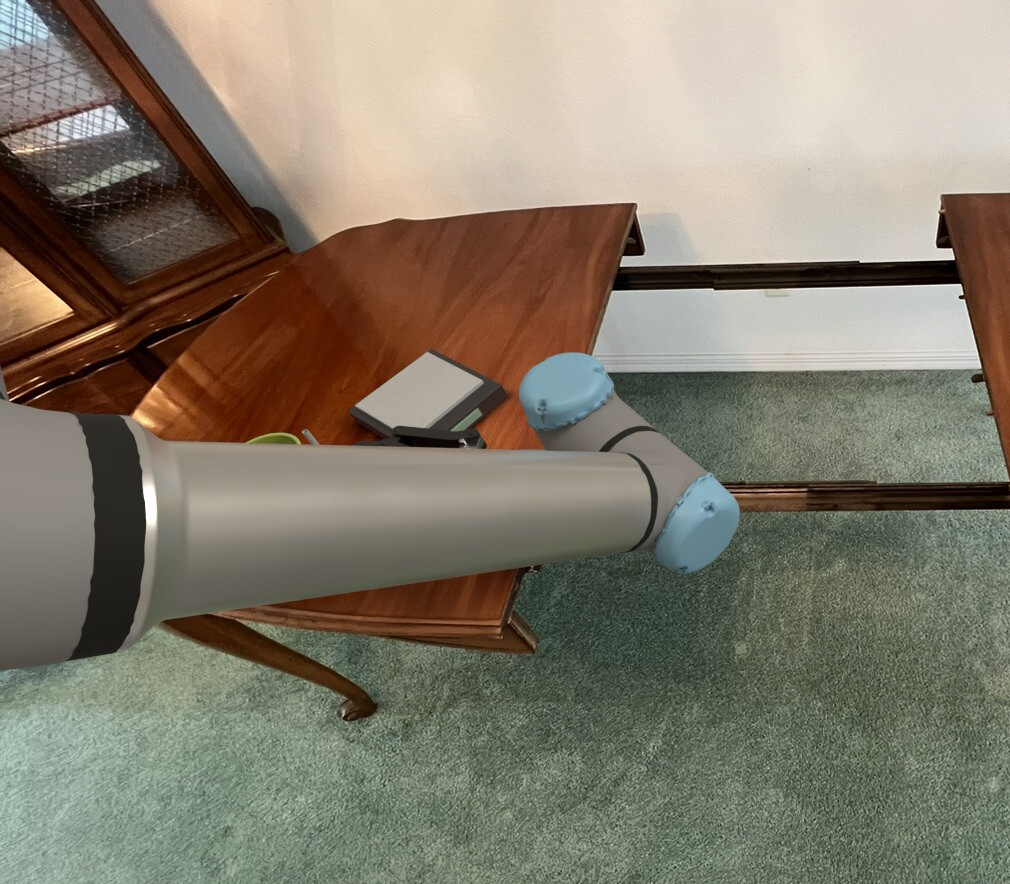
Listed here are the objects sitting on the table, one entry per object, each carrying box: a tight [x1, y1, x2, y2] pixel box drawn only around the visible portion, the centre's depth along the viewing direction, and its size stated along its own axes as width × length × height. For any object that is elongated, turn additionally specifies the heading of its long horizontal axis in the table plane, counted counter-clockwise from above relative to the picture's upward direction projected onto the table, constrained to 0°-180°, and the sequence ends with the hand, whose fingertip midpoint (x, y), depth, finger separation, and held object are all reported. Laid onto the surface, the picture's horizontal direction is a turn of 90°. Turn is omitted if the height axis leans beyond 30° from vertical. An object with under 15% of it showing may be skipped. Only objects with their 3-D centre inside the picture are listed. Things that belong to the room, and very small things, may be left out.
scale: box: [347, 349, 509, 439], centre depth 91 cm, size 14×15×3 cm
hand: (304, 486), depth 69 cm, fingers closed on beverage cup, 7 cm apart
